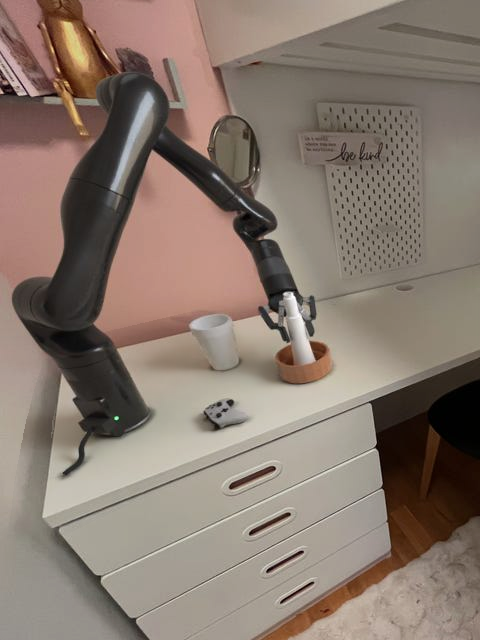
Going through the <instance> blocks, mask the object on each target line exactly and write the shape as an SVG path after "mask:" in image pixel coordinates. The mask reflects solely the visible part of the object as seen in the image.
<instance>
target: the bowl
mask: <svg viewBox="0 0 480 640" xmlns="http://www.w3.org/2000/svg"><path fill="white" fill-rule="evenodd" d="M309 343H310V346H311V350H312V352H313V355H314V358H315V360H316V361H315V362H312V363H309V364H305V365H297V366H294V359H293V352H292V347H291V344H288V345H285V346H284V347H282V348H280V349H279V350H278V351H277V352H276V354H275V357H274V359H275V363H276V366H277V369H278V373H279V378H280V379H282V380H283V381H284V382H287V383H291V384H307V383H311V382H314V381H318V380H320V379H323V378H324V377H325V376H326V375H328V374H329V373H330V372H331V371H332V368H333V361H332V357H331V351H330V348H329V346H328V345H327V344H326V343H324V342H321V341H317V340H309Z"/></svg>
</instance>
